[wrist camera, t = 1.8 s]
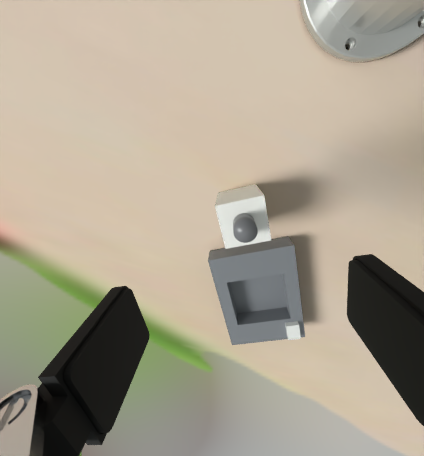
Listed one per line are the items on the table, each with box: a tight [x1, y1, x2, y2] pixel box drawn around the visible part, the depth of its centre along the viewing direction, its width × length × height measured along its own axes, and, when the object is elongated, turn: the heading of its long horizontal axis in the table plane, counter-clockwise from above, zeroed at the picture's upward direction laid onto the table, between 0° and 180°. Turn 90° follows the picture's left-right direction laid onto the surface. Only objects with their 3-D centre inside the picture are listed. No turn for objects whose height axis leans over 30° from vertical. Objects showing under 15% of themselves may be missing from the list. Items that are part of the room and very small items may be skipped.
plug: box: [215, 184, 271, 249], centre depth 21 cm, size 4×4×8 cm
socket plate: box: [208, 236, 305, 345], centre depth 27 cm, size 10×14×3 cm
